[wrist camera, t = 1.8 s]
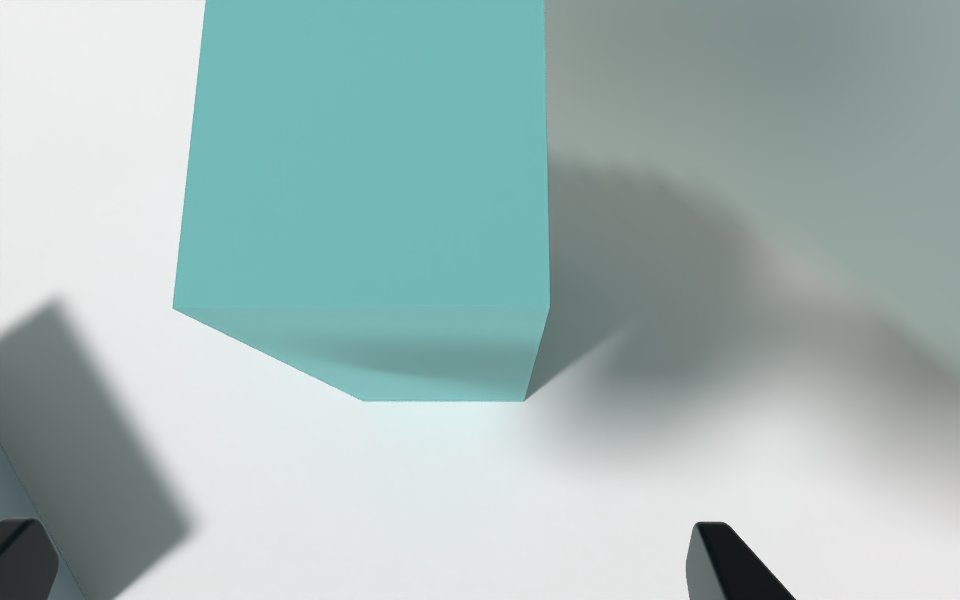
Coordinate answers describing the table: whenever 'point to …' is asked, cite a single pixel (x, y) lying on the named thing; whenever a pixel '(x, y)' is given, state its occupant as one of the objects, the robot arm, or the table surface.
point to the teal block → (373, 192)
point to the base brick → (9, 498)
